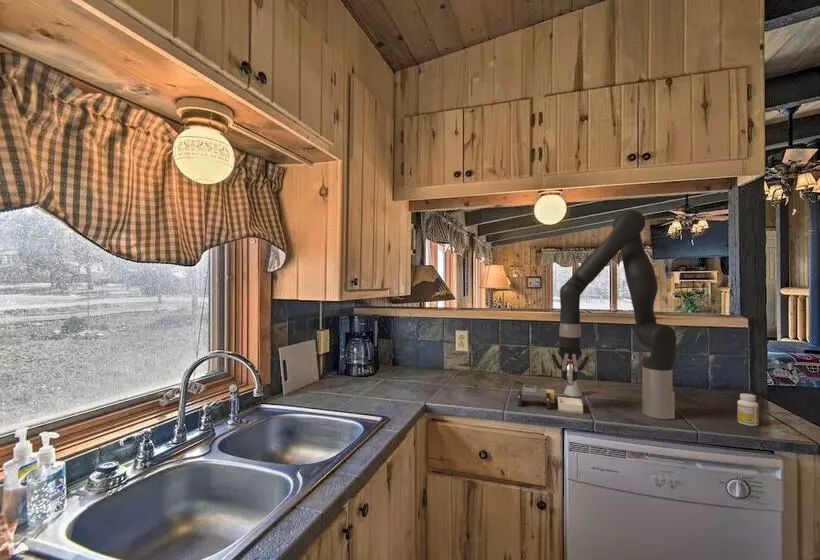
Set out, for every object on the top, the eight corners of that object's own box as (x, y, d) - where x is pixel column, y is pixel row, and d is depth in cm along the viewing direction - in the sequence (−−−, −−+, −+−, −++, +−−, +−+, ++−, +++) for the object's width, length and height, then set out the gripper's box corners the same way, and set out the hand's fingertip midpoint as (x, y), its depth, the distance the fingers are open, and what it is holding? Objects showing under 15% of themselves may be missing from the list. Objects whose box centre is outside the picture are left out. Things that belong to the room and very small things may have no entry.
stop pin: (574, 384, 145) (574, 358, 145) (575, 386, 142) (575, 359, 142) (564, 383, 146) (564, 357, 147) (564, 385, 143) (564, 359, 143)
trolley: (550, 403, 150) (550, 385, 150) (550, 410, 143) (550, 391, 143) (518, 400, 154) (518, 382, 154) (517, 407, 147) (517, 388, 147)
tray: (580, 406, 147) (580, 398, 147) (583, 413, 139) (583, 405, 139) (557, 404, 150) (557, 396, 150) (558, 411, 142) (558, 403, 142)
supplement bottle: (748, 420, 132) (748, 392, 132) (763, 426, 127) (763, 397, 127) (733, 420, 132) (733, 392, 132) (747, 426, 127) (747, 397, 127)
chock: (554, 400, 155) (554, 389, 155) (554, 403, 151) (554, 392, 151) (541, 399, 156) (541, 388, 156) (540, 402, 152) (540, 391, 152)
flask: (571, 398, 157) (571, 374, 157) (560, 393, 164) (560, 370, 164) (586, 397, 159) (586, 373, 159) (574, 392, 166) (574, 369, 166)
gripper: (550, 335, 143) (550, 381, 143) (591, 337, 138) (591, 384, 138) (550, 332, 150) (549, 376, 150) (588, 334, 145) (588, 379, 146)
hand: (569, 380), depth 144 cm, fingers closed on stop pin, 2 cm apart
